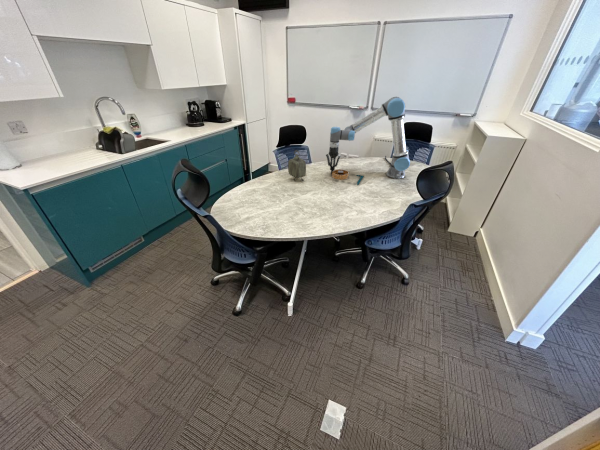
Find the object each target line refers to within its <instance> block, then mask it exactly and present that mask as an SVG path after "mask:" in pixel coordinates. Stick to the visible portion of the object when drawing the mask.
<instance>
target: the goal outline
mask: <svg viewBox="0 0 600 450" xmlns="http://www.w3.org/2000/svg"><path fill="white" fill-rule="evenodd" d="M356 177H359V179H358V181H357V182H356V185H357V186H359V185H360V184H361V181H362V180H363V178H364V175H360V174H356Z"/></svg>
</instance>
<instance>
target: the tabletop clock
mask: <svg viewBox="0 0 600 450" xmlns="http://www.w3.org/2000/svg"><path fill="white" fill-rule="evenodd" d="M296 152H297V153H296ZM293 153H294V155H295V156H294V157H293V158H290V159H289V160H288V161H287V172H288V174H289V176H291V177H292V178H294V179H293V181H294V182H295V181H297V179H301V181H302V182H304V181H305V180H304V179H303V177H306V174H307V163H306V160H305V159H303V158H301V157H300V152H299V151H298V150H294V152H293Z"/></svg>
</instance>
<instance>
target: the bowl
mask: <svg viewBox="0 0 600 450" xmlns="http://www.w3.org/2000/svg"><path fill="white" fill-rule="evenodd" d="M338 171H343V175H338ZM331 176H332V178H333V179H336V180H347V179H349V176H350V172H349V171H348V170H347V169H341V168H340V169H338V168H337V169H335V170H334V171H333V172H332V174H331Z"/></svg>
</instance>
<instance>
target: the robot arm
mask: <svg viewBox="0 0 600 450" xmlns="http://www.w3.org/2000/svg"><path fill="white" fill-rule="evenodd" d="M405 110H406V103H405V101H404V100H403V99H402V98H401V97H399V96H393V97H391V98H389V99H387V100H386V101H385V102H384V103H382V104H381V105H380V106H379V107H378V108H377V109H375V110H373V111H372V112H370V113H368V114H367V115H365V116H364V117H362V118H360V119H359V120H357V121H355V122H353V123H352V124H351V125H348V126H346V127H345V128H344V129H341V127H340V126H332V127H331V128H330V135H329V150H328V153H327V154H325V156H326V160H327V161H326V162H327V165H328V166H329V170H330V175H332V172H333V171H334V170H336V167H337V166H338V164H339V162H340V158H341V157H342V155H340V153H339V147H340V141H349V142H350V141H354V140H355V136H356V133H358V132H360V131H362V130H364V129H366V128H367V127H368V126H370V125H372V124H373V123H375V122H376V121H379V120H381V119H382V118H383V117H387V118H388V121H389V122H390V125H391V126H390V128H391V135H392V143H393V144H392V145H393V152H392V156H391V162H390V161H389V160H388V159H387V155H385V156H384V160H385V161H386V162H387V163H388V164H389V165H390V166H389V168H388V169H387V172H386V176H387V177H389V178H392V179H397V180H399V179H403V178H405V177H406V170H408V169H409V167H410V165H411V161H410V156H409V155H410V154H409V150H408V149H407V145H406V135H405V134H406V133H405V124H404V123H405V122H404V118H405V117H406V111H405Z"/></svg>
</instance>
